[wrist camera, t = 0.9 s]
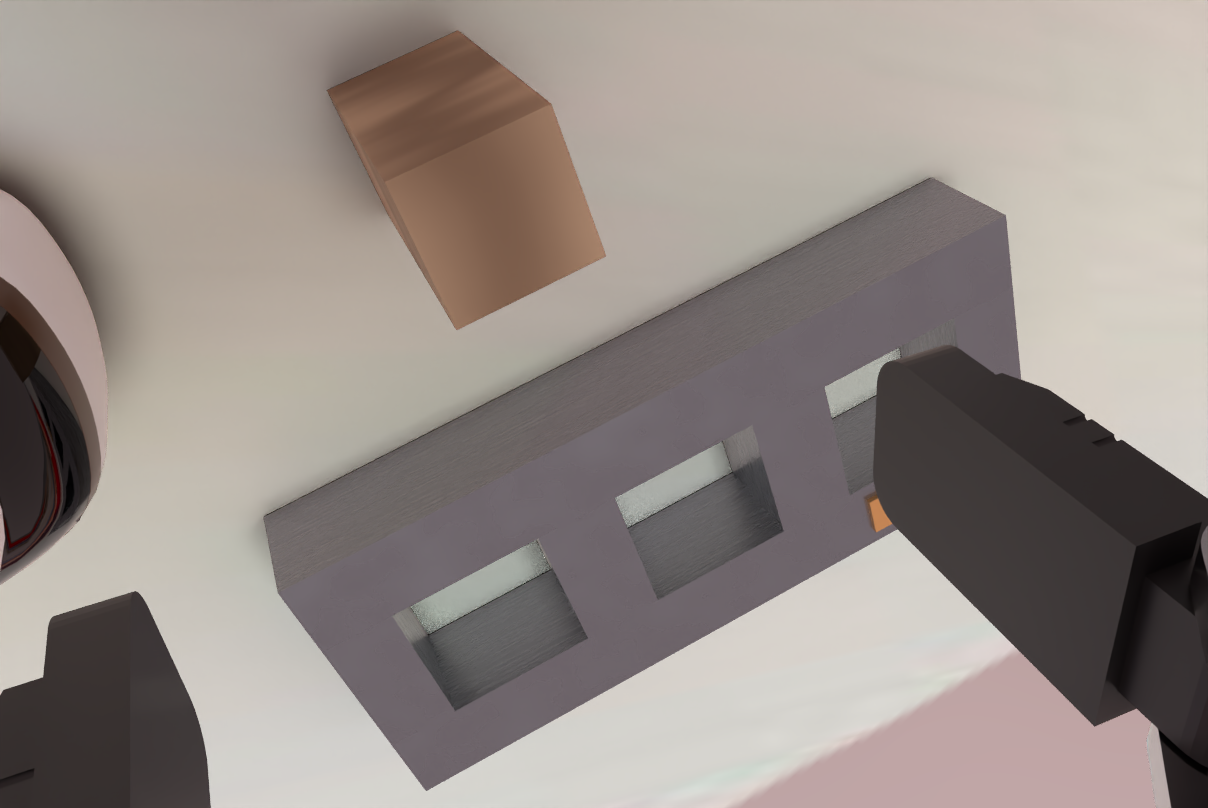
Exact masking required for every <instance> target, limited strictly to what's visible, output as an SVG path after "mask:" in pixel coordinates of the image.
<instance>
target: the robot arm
mask: <svg viewBox="0 0 1208 808" xmlns="http://www.w3.org/2000/svg"><path fill="white" fill-rule="evenodd" d="M873 479H874V485H875V490H876V493H877V497H878V499H879V502H880V504H881V506H882V508H883V510H884V512H885V514H886V515H887V517H888V518H889V520H890V521H891V522H892V524H893V525H894V526H895V527H896V528H897V529H898V530H899V531H900V532H901V533H902V534H903V535H904V536H905V537H906V538H907V539H908V540H909V541H910V542H911V543H912V544H913V545H914V546H915V547H916V548H917V549H918V550H919V551H920V552H921V553H922V554H923V555H924V556H925V557H926V558H927V559H928V560H929V561H930V562H931V563H932V564H933V565H934V566H935V567H936V568H937V569H938V570H939V571H940V572H941V573H942V574H943V575H944V576H945V577H946V578H947V579H948V580H949V581H950V582H951V583H952V584H953V585H954V586H955V587H956V588H957V589H958V590H959V591H960V592H961V593H962V594H963V595H964V596H965V597H966V598H967V599H968V600H969V601H970V602H971V603H972V604H973V605H974V606H975V607H976V608H977V609H978V610H979V611H980V612H981V613H982V614H983V615H984V616H985V617H986V618H987V619H988V620H989V621H990V622H991V623H992V624H993V625H994V626H995V627H996V628H997V629H998V630H999V631H1000V632H1001V633H1002V634H1003V635H1004V636H1005V637H1006V638H1007V639H1008V640H1009V641H1010V642H1011V643H1012V644H1013V645H1014V646H1015V647H1016V648H1017V649H1018V650H1019V651H1020V652H1021V653H1022V654H1023V655H1024V656H1025V657H1026V658H1027V659H1028V660H1029V661H1030V662H1031V663H1032V664H1033V665H1034V666H1035V667H1036V668H1037V669H1038V670H1039V671H1040V672H1041V673H1042V674H1043V675H1044V676H1045V677H1046V678H1047V679H1048V680H1049V681H1050V682H1051V683H1052V684H1053V685H1054V686H1055V687H1056V688H1057V689H1058V690H1059V691H1060V692H1061V693H1062V694H1063V695H1064V696H1065V697H1066V698H1067V699H1068V700H1069V701H1070V702H1071V703H1072V704H1073V705H1074V706H1075V707H1076V708H1077V709H1078V710H1079V711H1080V712H1081V713H1082V714H1083V715H1084V716H1085V717H1086V718H1087V719H1088V720H1089V721H1090V722H1091V723H1092V724H1093V725H1094V726H1097V725H1099V724H1101V723H1103V722H1106V721H1108V720H1110V719H1113V718H1115V717H1118V716H1120V715H1122V714H1125V713H1127V712H1129V711H1132V710H1134V709H1136V708H1137V709H1138V710H1139V711H1140V712H1141V713H1142V714H1143V715H1144V716H1145V717H1146V718H1148V720H1150V721H1151V724H1150V727H1149V731H1148V735H1147V740H1146V742H1147V754H1148V760H1149V767H1150V773H1151V779H1152V787H1153V793H1154V799H1155V806H1156V808H1208V498H1206V497H1205V496H1203V495H1202V494H1200V493H1199V492H1197V491H1196V490H1194V489H1193V488H1191V487H1190V486H1189V485H1187V484H1186V483H1184V482H1183V481H1181V480H1180V479H1178V478H1177V477H1175V476H1174V475H1173V474H1171V473H1170V472H1168V471H1167V470H1165V469H1164V468H1162V467H1161V466H1159V465H1158V464H1156V463H1155V462H1154V461H1152V460H1151V459H1149V458H1148V457H1146V456H1145V455H1143V454H1142V453H1140V452H1139V451H1137V450H1136V449H1135V448H1133V447H1132V446H1130V445H1129V444H1127V443H1126V442H1124V441H1123V440H1120V441H1116V440H1115V438H1114V434H1113V433H1111V432H1110V431H1108V430H1107V429H1105V428H1104V427H1102V426H1101V425H1100V424H1098V423H1097V422H1095V421H1094V420H1092V419H1091V420H1088V421H1087V420H1086V418H1085V414H1083V413H1082V412H1081V411H1079V410H1078V409H1076V408H1075V407H1073V406H1072V405H1070V404H1069V403H1067V402H1066V401H1065V400H1063V399H1062V398H1060V397H1059V396H1057V395H1056V394H1054V393H1053V392H1051V391H1050V390H1048V389H1046V388H1043V387H1040V386H1037V385H1034V384H1032V383H1029V382H1026V381H1023V380H1020V379H1018V378H1015V377H1012V376H1009V375H1006V374H1004V373H1000V374H997V375H996V374H994V373H993V372H992V371H990V370H989V369H987V368H986V367H985V366H983V365H982V364H980V363H979V362H977V361H976V360H975V359H973V358H972V357H970V356H969V355H968V354H966V353H965V352H963V351H962V350H961V349H959V348H957V347H955V346H952V345H942V346H938V347H935V348H932V349H929V350H925V351H922V352H919V353H916V354H912V355H909V356H906V357H903V358H899V359H896V360H893V361H890V362H887V363H886V364H884V365H883V367H882V368H881V370H880V372H879V375H878V381H877V398H876V419H875V439H874V460H873ZM0 808H211V806H210V793H209V779H208V766H207V757H206V751H205V745H204V741H203V736H202V732H201V728H200V725H199V721H198V718H197V715H196V712H195V709H194V706H193V704H192V701H191V699H190V697H189V694H188V692H187V690H186V688H185V686H184V684H183V682H182V679H181V677H180V675H179V673H178V671H177V669H176V666H175V664H174V662H173V660H172V658H171V656H170V654H169V651H168V649H167V647H166V645H165V643H164V641H163V638H162V636H161V634H160V632H159V630H158V628H157V626H156V623H155V621H154V619H153V617H152V615H151V613H150V610H149V608H148V606H147V604H146V602H145V601H144V599H143V598H142V596H141V595H140V594H139V593H138V592H136V591H134V592H131V593H128V594H125V595H121V596H118V597H115V598H111V599H108V600H105V601H102V602H98V603H95V604H92V605H89V606H85V607H82V608H79V609H76V610H72V611H69V612H66V613H63V614H59V615H56V616H54V617H52V618H51V620H50V622H49V627H48V634H47V645H46V655H45V665H44V675H43V678H40V679H37V680H34V681H30V682H27V683H24V684H21V685H18V686H15V687H12V688H9V689H5V690H3V692H2V693H1V695H0Z"/></svg>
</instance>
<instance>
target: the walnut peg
mask: <svg viewBox="0 0 1208 808" xmlns="http://www.w3.org/2000/svg"><path fill="white" fill-rule="evenodd" d="M327 92H328V94H329V96H330V98H331V100H332V102H333V104H334V106H335V108H336V110H337V112H338V114H339V116H340V118H341V120H342V122H343V124H344V126H345V128H346V130H347V132H348V134H349V136H350V138H351V140H352V142H353V144H354V147H355V149H356V151H357V153H358V155H359V157H360V159H361V161H362V163H363V165H364V167H365V169H366V171H367V173H368V175H369V177H370V179H371V181H372V183H373V185H374V187H375V189H376V191H377V193H378V195H379V197H380V199H381V201H382V203H383V205H384V207H385V209H386V211H387V213H388V215H389V217H390V219H391V220H392V222H393V224H394V226H395V227H396V229H397V231H398V232H399V234H400V236H401V237H402V239H403V241H404V242H405V244H406V246H407V247H408V249H409V251H410V253H411V254H412V256H413V258H414V259H415V261H416V263H417V264H418V266H419V268H420V269H421V271H422V273H423V274H424V276H425V278H426V280H427V281H428V283H429V285H430V286H431V288H432V290H433V291H434V293H435V295H436V296H437V298H438V300H439V301H440V303H441V305H442V307H443V308H444V310H445V312H446V313H447V315H448V317H449V318H450V320H451V322H452V323H453V325H454V327H455V328H456V330H458V329H460V328H462V327H464V326H466V325H468V324H470V323H472V322H474V321H476V320H478V319H480V318H482V317H484V316H486V315H488V314H490V313H492V312H494V311H496V310H499V309H501V308H503V307H505V306H507V305H509V304H511V303H513V302H515V301H517V300H519V299H521V298H523V297H525V296H527V295H529V294H531V293H533V292H535V291H537V290H539V289H541V288H543V287H545V286H547V285H549V284H551V283H553V282H555V281H557V280H559V279H561V278H563V277H565V276H567V275H569V274H571V273H573V272H575V271H577V270H579V269H581V268H583V267H585V266H587V265H589V264H591V263H593V262H595V261H597V260H599V259H601V258H603V257H605V256H606V254H605V252H604V249H603V246H602V243H601V241H600V238H599V235H598V232H597V229H596V227H595V224H594V221H593V218H592V216H591V213H590V210H589V207H588V205H587V202H586V199H585V196H584V193H583V191H582V188H581V185H580V182H579V180H578V177H577V174H576V171H575V169H574V166H573V163H572V160H571V157H570V155H569V152H568V149H567V146H566V144H565V141H564V138H563V135H562V133H561V130H560V127H559V124H558V121H557V119H556V116H555V113H554V110H553V108H552V105H551V103H550V102H548V101H547V100H546V99H544V98H543V97H542V96H541V95H539V94H538V93H537V92H536V91H534V90H533V89H532V88H531V87H529V86H528V85H527V84H525V83H524V82H523V81H522V80H520V79H519V78H518V77H517V76H515V75H514V74H513V73H511V72H510V71H509V70H508V69H506V68H505V67H504V66H503V65H501V64H500V63H499V62H498V61H496V60H495V59H494V58H492V57H491V56H490V55H489V54H487V53H486V52H485V51H484V50H482V49H481V48H480V47H479V46H477V45H476V44H475V43H473V42H472V41H471V40H470V39H468V38H467V37H466V36H465V35H463V34H462V33H461V32H460V31H456V32H454V33H451V34H449V35H447V36H445V37H443V38H441V39H438V40H436V41H434V42H432V43H430V44H427V45H425V46H423V47H421V48H419V49H416V50H414V51H412V52H410V53H408V54H405V55H403V56H401V57H399V58H397V59H394V60H392V61H390V62H388V63H386V64H383V65H381V66H379V67H377V68H375V69H372V70H370V71H368V72H366V73H364V74H362V75H359V76H357V77H355V78H353V79H351V80H348V81H346V82H344V83H342V84H340V85H337V86H335V87H333V88H331V89H329V90H327Z"/></svg>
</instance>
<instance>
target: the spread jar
mask: <svg viewBox="0 0 1208 808" xmlns="http://www.w3.org/2000/svg"><path fill="white" fill-rule="evenodd" d="M107 421H108V385H107V375H106V367H105V361H104V356H103V351H102V346H101V342H100V338H99V334H98V330H97V326H96V323H95V320H94V316H93V313H92V310H91V308H90V305H89V302H88V300H87V297H86V295H85V293H84V291H83V288H82V286H81V284H80V282H79V280H78V278H77V276H76V274H75V272H74V271H73V269H72V267H71V265H70V264H69V262H68V260H67V259H66V257H65V255H64V254H63V252H62V251H61V249H60V248H59V246H58V245H57V243H56V242H55V240H54V239H53V238H52V236H51V235H50V234H49V232H48V231H47V230H46V228H45V227H44V226H43V225H42V223H41V222H40V221H39V220H38V219H37V217H36V216H35V215H34V214H33V213H32V212H31V211H30V210H29V209H28V208H27V207H26V206H25V205H23V204H22V203H21V202H20V201H18V200H17V199H16V198H15V197H13V196H12V195H10V194H8V193H6V192H4V191H3V190H1V189H0V585H1V584H3V583H4V582H6V581H7V580H8V579H10V578H11V577H13V576H14V575H16V574H17V573H19V572H20V571H22V570H23V569H25V568H26V567H28V566H29V565H31V564H32V563H33V562H35V561H36V560H37V559H38V558H40V557H41V556H42V555H43V554H45V553H46V552H47V551H48V550H49V549H50V548H52V547H53V546H54V545H55V544H56V543H57V542H58V541H59V540H60V539H61V538H62V537H63V536H65V535H66V534H67V533H68V532H69V530H70V529H71V528H72V527H73V526H74V525H75V524H76V523H77V522H78V521H79V520H80V518H81V516H82V514H83V513H84V511H85V509H86V507H87V506H88V504H89V502H90V501H91V499H92V497H93V496H94V494H95V492H96V490H97V487H98V483H99V480H100V476H101V473H102V469H103V465H104V462H105V456H106V447H107Z"/></svg>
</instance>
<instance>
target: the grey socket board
mask: <svg viewBox="0 0 1208 808" xmlns="http://www.w3.org/2000/svg"><path fill="white" fill-rule="evenodd" d="M942 345H952V346H955V347H957V348H959V349H961V350H962V351H963V352H965V353H966V354H968V355H969V356H970V357H972V358H973V359H975V360H976V361H977V362H979V363H980V364H982V365H983V366H985V367H986V368H987V369H989V370H990V371H992V372H993V373H994V374H996V375H997V374H1000V373H1004V374H1006V375H1009V376H1012V377H1015V378H1018V379H1020V380H1021V374H1020V363H1019V352H1018V341H1017V330H1016V320H1015V309H1014V298H1013V287H1012V276H1011V265H1010V254H1009V244H1008V233H1007V222H1006V215H1004V214H1002V213H1000V212H998V211H997V210H995V209H993V208H991V207H989V206H987V205H985V204H983V203H981V202H979V201H977V200H975V199H973V198H971V197H969V196H967V195H965V194H963V193H961V192H959V191H957V190H955V189H953V188H951V187H949V186H947V185H945V184H943V183H941V182H939V181H937V180H935V179H933V178H930V179H928V180H926V181H924V182H922V183H920V184H918V185H916V186H914V187H912V188H910V189H908V190H906V191H904V192H902V193H900V194H898V195H896V196H895V197H893V198H891V199H889V200H887V201H885V202H883V203H881V204H879V205H877V206H875V207H873V208H871V209H869V210H867V211H865V212H863V213H861V214H859V215H857V216H855V217H853V218H851V219H849V220H847V221H845V222H843V223H841V224H839V225H837V226H835V227H834V228H832V229H830V230H828V231H826V232H824V233H822V234H820V235H818V236H816V237H814V238H812V239H810V240H808V241H806V242H804V243H802V244H800V245H798V246H796V247H794V248H792V249H790V250H788V251H786V252H784V253H782V254H780V255H778V256H776V257H774V258H772V259H771V260H769V261H767V262H765V263H763V264H761V265H759V266H757V267H755V268H753V269H751V270H749V271H747V272H745V273H743V274H741V275H739V276H737V277H735V278H733V279H731V280H729V281H727V282H725V283H723V284H721V285H719V286H717V287H715V288H713V289H711V290H709V291H708V292H706V293H704V294H702V295H700V296H698V297H696V298H694V299H692V300H690V301H688V302H686V303H684V304H682V305H680V306H678V307H676V308H674V309H672V310H670V311H668V312H666V313H664V314H662V315H660V316H658V317H656V318H654V319H652V320H650V321H648V322H646V323H645V324H643V325H641V326H639V327H637V328H635V329H633V330H631V331H629V332H627V333H625V334H623V335H621V336H619V337H617V338H615V339H613V340H611V341H609V342H607V343H605V344H603V345H601V346H599V347H597V348H595V349H593V350H591V351H589V352H587V353H585V354H583V355H582V356H580V357H578V358H576V359H574V360H572V361H570V362H568V363H566V364H564V365H562V366H560V367H558V368H556V369H554V370H552V371H550V372H548V373H546V374H544V375H542V376H540V377H538V378H536V379H534V380H532V381H530V382H528V383H526V384H524V385H522V386H520V387H519V388H517V389H515V390H513V391H511V392H509V393H507V394H505V395H503V396H501V397H499V398H497V399H495V400H493V401H491V402H489V403H487V404H485V405H483V406H481V407H479V408H477V409H475V410H473V411H471V412H469V413H467V414H465V415H463V416H461V417H459V418H457V419H456V420H454V421H452V422H450V423H448V424H446V425H444V426H442V427H440V428H438V429H436V430H434V431H432V432H430V433H428V434H426V435H424V436H422V437H420V438H418V439H416V440H414V441H412V442H410V443H408V444H406V445H404V446H402V447H400V448H398V449H396V450H394V451H393V452H391V453H389V454H387V455H385V456H383V457H381V458H379V459H377V460H375V461H373V462H371V463H369V464H367V465H365V466H363V467H361V468H359V469H357V470H355V471H353V472H351V473H349V474H347V475H345V476H343V477H341V478H339V479H337V480H335V481H333V482H331V483H330V484H328V485H326V486H324V487H322V488H320V489H318V490H316V491H314V492H312V493H310V494H308V495H306V496H304V497H302V498H300V499H298V500H296V501H294V502H292V503H290V504H288V505H286V506H284V507H282V508H280V509H278V510H276V511H274V512H272V513H270V514H269V515H267V516H265V517H264V522H265V527H266V532H267V538H268V543H269V548H270V554H271V559H272V564H273V569H274V575H275V580H276V585H277V590H278V594H279V595H280V596H281V598H282V599H283V600H284V602H285V603H286V604H287V606H288V607H289V608H290V610H291V611H292V612H293V614H294V615H295V616H296V618H297V619H298V620H299V622H300V623H301V624H302V626H303V627H304V628H305V630H306V631H307V632H308V634H309V635H310V636H311V638H312V639H313V640H314V642H315V643H316V644H317V646H318V647H319V648H320V650H321V651H322V652H323V654H324V655H325V656H326V658H327V659H328V661H329V662H330V663H331V665H332V666H333V667H334V669H335V670H336V671H337V673H338V674H339V675H340V677H341V678H342V679H343V681H344V682H345V683H346V685H347V686H348V687H349V689H350V690H351V691H352V693H353V694H354V695H355V697H356V698H357V699H358V701H359V702H360V703H361V705H362V706H363V707H364V709H365V710H366V711H367V713H368V714H369V715H370V717H371V718H372V719H373V721H374V722H375V723H376V725H377V726H378V727H379V729H380V730H381V731H382V733H383V734H384V735H385V737H386V738H387V739H388V741H389V742H390V743H391V745H392V746H393V747H394V749H395V750H396V751H397V753H398V754H399V755H400V757H401V758H402V759H403V761H404V762H405V763H406V765H407V766H408V767H409V769H410V770H411V771H412V773H413V774H414V775H415V777H416V778H417V779H418V781H419V782H420V783H421V785H422V786H423V787H424V789H425V790H426V791H427V790H429V789H431V788H432V787H434V786H436V785H438V784H440V783H441V782H443V781H445V780H447V779H449V778H450V777H452V776H454V775H456V774H458V773H459V772H461V771H463V770H465V769H467V768H468V767H470V766H472V765H474V764H476V763H477V762H479V761H481V760H483V759H485V758H486V757H488V756H490V755H492V754H494V753H495V752H497V751H499V750H501V749H503V748H504V747H506V746H508V745H510V744H512V743H513V742H515V741H517V740H519V739H521V738H522V737H524V736H526V735H528V734H530V733H531V732H533V731H535V730H537V729H539V728H540V727H542V726H544V725H546V724H548V723H549V722H551V721H553V720H555V719H557V718H558V717H560V716H562V715H564V714H566V713H567V712H569V711H571V710H573V709H575V708H576V707H578V706H580V705H582V704H584V703H585V702H587V701H589V700H591V699H593V698H594V697H596V696H598V695H600V694H602V693H603V692H605V691H607V690H609V689H611V688H612V687H614V686H616V685H618V684H620V683H621V682H623V681H625V680H627V679H629V678H630V677H632V676H634V675H636V674H638V673H639V672H641V671H643V670H645V669H647V668H648V667H650V666H652V665H654V664H656V663H657V662H659V661H661V660H663V659H665V658H666V657H668V656H670V655H672V654H674V653H675V652H677V651H679V650H681V649H683V648H684V647H686V646H688V645H690V644H692V643H693V642H695V641H697V640H699V639H701V638H702V637H704V636H706V635H708V634H710V633H711V632H713V631H715V630H717V629H719V628H720V627H722V626H724V625H726V624H728V623H729V622H731V621H733V620H735V619H737V618H738V617H740V616H742V615H744V614H746V613H747V612H749V611H751V610H753V609H755V608H756V607H758V606H760V605H762V604H764V603H765V602H767V601H769V600H771V599H773V598H774V597H776V596H778V595H780V594H782V593H783V592H785V591H787V590H789V589H791V588H792V587H794V586H796V585H798V584H800V583H801V582H803V581H805V580H807V579H809V578H810V577H812V576H814V575H816V574H818V573H819V572H821V571H823V570H825V569H827V568H828V567H830V566H832V565H834V564H836V563H837V562H839V561H841V560H843V559H845V558H846V557H848V556H850V555H852V554H854V553H855V552H857V551H859V550H861V549H863V548H864V547H866V546H868V545H870V544H872V543H873V542H875V541H877V540H879V539H881V538H882V537H884V536H886V535H888V534H890V533H891V532H893V531H895V530H897V528H896V527H895V526H894V525H893V524H892V522H891V521H890V520H889V518H888V517H887V515H886V514H885V512H884V510H883V508H882V506H881V504H880V502H879V499H878V497H877V493H876V490H875V485H874V479H873V460H874V439H875V419H876V398H877V396H875V397H873V398H871V399H869V400H867V401H866V402H864V403H862V404H860V405H858V406H856V407H854V408H853V409H851V410H849V411H847V412H845V413H843V414H841V415H839V416H838V417H836V418H834V419H832V418H831V414H830V409H829V405H828V401H827V397H826V392H825V388H824V387H825V386H827V385H829V384H831V383H833V382H834V381H836V380H838V379H840V378H842V377H844V376H846V375H848V374H850V373H851V372H853V371H855V370H857V369H859V368H861V367H863V366H865V365H866V364H868V363H870V362H872V361H874V360H876V359H878V358H880V357H882V356H883V355H885V354H887V353H889V352H891V351H893V350H895V349H897V348H899V347H900V352H901V358H903V357H906V356H909V355H912V354H916V353H919V352H922V351H925V350H929V349H932V348H935V347H938V346H942ZM721 441H723V444H724V447H725V450H726V453H727V456H728V459H729V462H730V465H731V469H732V472H733V473H731V474H729V475H727V476H725V477H724V478H722V479H720V480H718V481H716V482H714V483H712V484H710V485H709V486H707V487H705V488H703V489H701V490H699V491H697V492H696V493H694V494H692V495H690V496H688V497H686V498H684V499H682V500H681V501H679V502H677V503H675V504H673V505H671V506H669V507H667V508H666V509H664V510H662V511H660V512H658V513H656V514H654V515H653V516H651V517H649V518H647V519H645V520H643V521H641V522H639V523H638V524H636V525H634V526H632V527H630V528H628V529H627V526H626V524H625V521H624V519H623V517H622V514H621V512H620V510H619V507H618V505H617V503H616V500H615V497H617V496H619V495H621V494H623V493H625V492H627V491H629V490H631V489H632V488H634V487H636V486H638V485H640V484H642V483H644V482H646V481H648V480H649V479H651V478H653V477H655V476H657V475H659V474H661V473H663V472H665V471H666V470H668V469H670V468H672V467H674V466H676V465H678V464H680V463H682V462H683V461H685V460H687V459H689V458H691V457H693V456H695V455H697V454H699V453H700V452H702V451H704V450H706V449H708V448H710V447H712V446H714V445H716V444H717V443H719V442H721ZM534 540H537V542H538V544H539V546H540V548H541V550H542V552H543V554H544V556H545V558H546V560H547V562H548V564H549V566H550V568H551V570H550V571H548V572H546V573H544V574H542V575H540V576H539V577H537V578H535V579H533V580H531V581H529V582H527V583H525V584H524V585H522V586H520V587H518V588H516V589H514V590H512V591H510V592H509V593H507V594H505V595H503V596H501V597H499V598H497V599H496V600H494V601H492V602H490V603H488V604H486V605H484V606H482V607H481V608H479V609H477V610H475V611H473V612H471V613H469V614H467V615H466V616H464V617H462V618H460V619H458V620H456V621H454V622H453V623H451V624H449V625H447V626H445V627H443V628H441V629H439V630H438V631H436V632H434V633H432V634H430V635H428V634H427V632H426V631H425V629H424V628H423V626H422V625H421V623H420V621H419V620H418V618H417V617H416V615H415V614H414V612H413V611H412V609H411V607H410V606H412V605H414V604H415V603H417V602H419V601H421V600H423V599H425V598H427V597H429V596H431V595H432V594H434V593H436V592H438V591H440V590H442V589H444V588H446V587H448V586H449V585H451V584H453V583H455V582H457V581H459V580H461V579H463V578H464V577H466V576H468V575H470V574H472V573H474V572H476V571H478V570H480V569H481V568H483V567H485V566H487V565H489V564H491V563H493V562H495V561H497V560H498V559H500V558H502V557H504V556H506V555H508V554H510V553H512V552H514V551H515V550H517V549H519V548H521V547H523V546H525V545H527V544H529V543H531V542H532V541H534Z"/></svg>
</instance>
